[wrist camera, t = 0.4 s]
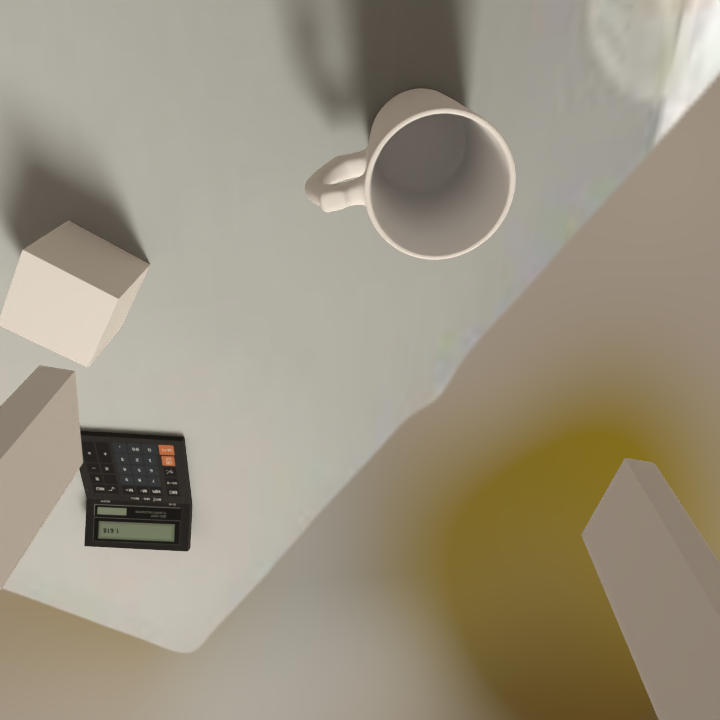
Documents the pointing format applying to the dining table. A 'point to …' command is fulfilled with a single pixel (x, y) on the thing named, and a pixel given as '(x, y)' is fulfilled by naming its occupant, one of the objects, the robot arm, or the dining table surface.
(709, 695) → the robot arm
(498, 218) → the mug
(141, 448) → the calculator
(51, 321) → the white cube
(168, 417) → the dining table surface
